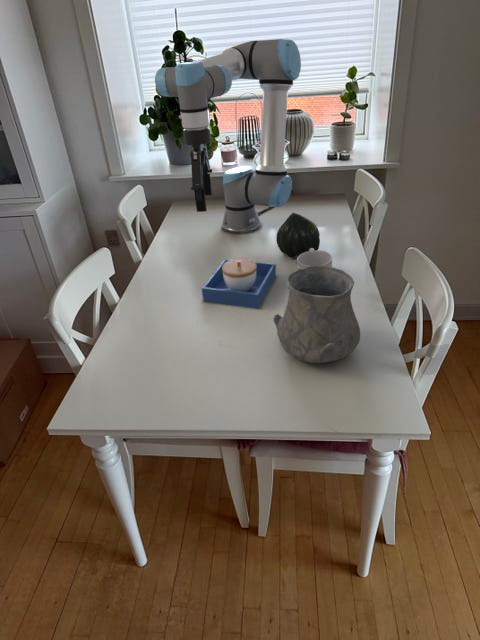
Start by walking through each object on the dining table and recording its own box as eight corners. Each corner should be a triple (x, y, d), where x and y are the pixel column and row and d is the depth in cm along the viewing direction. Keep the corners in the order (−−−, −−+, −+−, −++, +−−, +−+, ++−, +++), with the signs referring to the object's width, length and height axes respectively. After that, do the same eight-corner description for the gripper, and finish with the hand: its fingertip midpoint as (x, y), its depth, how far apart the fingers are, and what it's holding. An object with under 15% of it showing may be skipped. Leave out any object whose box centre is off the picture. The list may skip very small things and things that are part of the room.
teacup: (330, 289, 139) (331, 265, 134) (295, 287, 141) (295, 264, 136) (332, 267, 150) (333, 245, 145) (299, 266, 152) (299, 245, 148)
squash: (320, 251, 148) (319, 207, 150) (275, 253, 151) (274, 210, 153) (319, 262, 162) (318, 222, 164) (278, 264, 165) (277, 224, 166)
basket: (225, 271, 153) (224, 259, 150) (275, 276, 147) (275, 263, 145) (203, 301, 138) (201, 288, 135) (258, 308, 132) (257, 294, 130)
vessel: (292, 315, 128) (292, 251, 117) (369, 335, 118) (377, 267, 107) (256, 359, 113) (252, 291, 102) (341, 386, 103) (347, 313, 92)
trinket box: (240, 276, 149) (238, 250, 143) (264, 286, 142) (263, 259, 137) (216, 289, 142) (213, 263, 137) (241, 300, 136) (239, 273, 131)
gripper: (189, 119, 134) (198, 189, 146) (174, 139, 113) (185, 219, 125) (214, 117, 133) (221, 188, 145) (203, 137, 113) (212, 218, 125)
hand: (204, 202), depth 135 cm, fingers open, 13 cm apart
